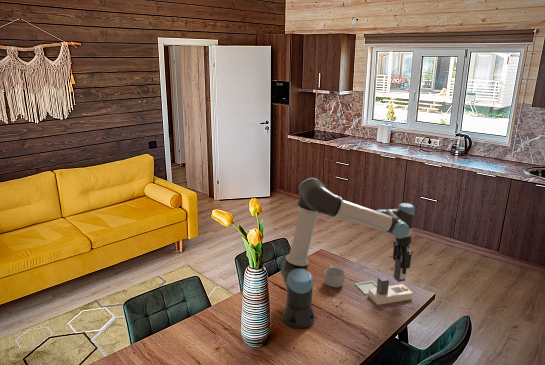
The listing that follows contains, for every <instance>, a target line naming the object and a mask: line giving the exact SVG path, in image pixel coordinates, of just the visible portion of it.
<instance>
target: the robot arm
mask: <svg viewBox="0 0 545 365" xmlns="http://www.w3.org/2000/svg"><path fill="white" fill-rule="evenodd" d="M298 195H299V198H298V201H297V207H298V208H299V211H298V212H299V213H298V216H297V221H296V225H295V229H294V232H293V233H294V234H293V237H292V242H291V247H290V250H289V254H286V256H285V257H284V260H283V261H282V262H281V264H280V274H281V275H280V276H281V278H282V279H283V282H284V286H285V289H286V305H285V307H284V309H283V311H282V322H283V324H285V325H286V326H287V327H289V328H292V329H296V330H298V329H299V330H300V329H301V330H303V329H307V328H310V327H312V326H313V325H314V323H315V321H316V320H315V319H316V316H315V312H314V308H313V305H312V304H313V302H312V301H313V288H314V278H313V275H312V273H310V271H308V268H309V264H310V261H309V259H308V256H309V250H310V247H311V243H312V240H313V239H312V238H313V234H314V231H315V226H316V221H317V218H318V214H319V213H320V214H323V215H326V216H330V217H332V218H335V217H339V218H342V219H346V220H349V221H351V222H355V223H357V224H361V225H364V226H366V227H370V228H374V229H376V230H380V231H383V232H386V233H388V234H391V235H393V237H394V238H395V240H394V241H393V243H392V244H393V250H392V260H394V262H395V261H396V259H397V258H402V267H401V270H400V279H405V280H406V277H405V275H406V274H407V269H410V267H411V262H412V260H411V259H412V255H413V250H410V244H411V243H412V235H413V226H414V220H415V211H416V209H415V208H416V207H415V206H414V205H413V204H411V203H408V202H402V203H399V204H398V207H397V208H381V209H375V210H374V209H372V208H368V207H365V206H362V205H360V204H356V203H355V202H354V203H353V202H351V201H348V200H345V199H343V198H342V197H341V196H340V195H337V194H334V193H333V192H332V191H330V190H329V189H328V188H327V187H326V186H325V184H324V183H323V182H322V181H321V180H320V179H318V178H315V177H309V178H306V179H304V180H303V181H301V182H300V183H299V187H298Z"/></svg>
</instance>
